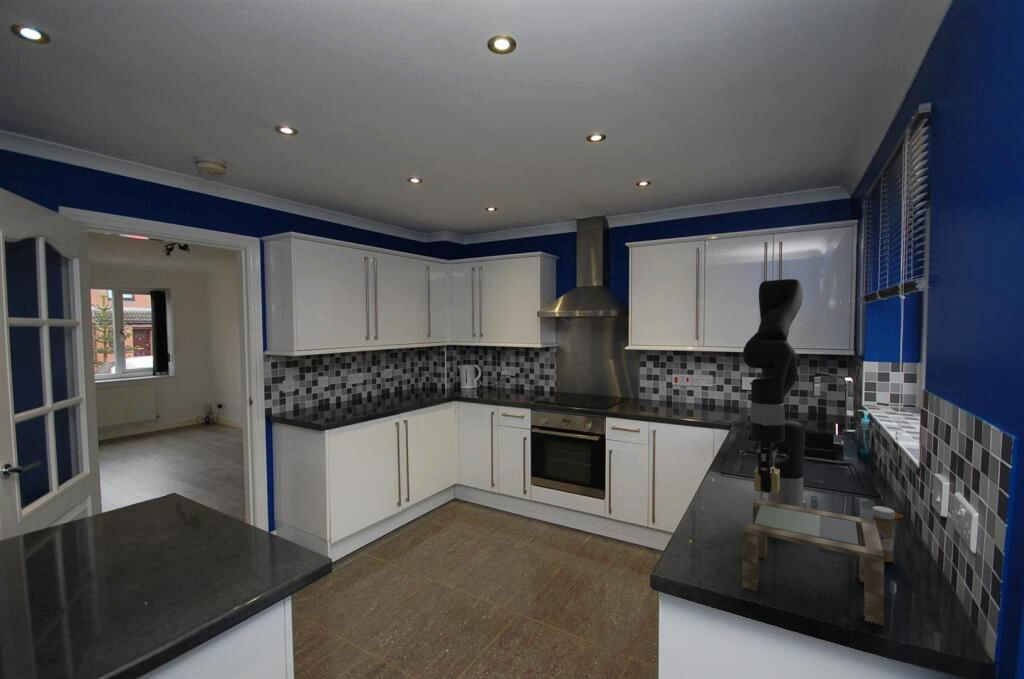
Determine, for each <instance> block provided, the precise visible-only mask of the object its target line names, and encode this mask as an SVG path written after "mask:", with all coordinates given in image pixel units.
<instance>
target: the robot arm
mask: <svg viewBox="0 0 1024 679" xmlns="http://www.w3.org/2000/svg"><path fill="white" fill-rule="evenodd" d="M803 300H804V288H803V285H802V282H801V281H800V280H799V279H795V278H786V279H785V278H784V279H774V280H773V279H772V280H771V279H770V280H764V281H763V280H762V282H761V283H760V284H759V289H758V305H759V317H760V323H759V325H758V328H757V331H756V332H755V333H754V335H752V336H751V337H750V339H748V341H747V342H746V344H745V346H744V348H743V351H742V359H743V362H744V363H745V365H746V366H748V367H749V368H752V369H761V377H758V378H754V379H753V380H751V386H750V387H751V389H750V391H751V395H750V396H751V398H750V400H751V401H750V402H751V404H750V408H749V409H750V412H749V415H750V416H749V419H750V420H749V421H750V422H749V423H750V424H749V425H750V428H749V430H750V432H749V434H750V435H749V437H750V438H751V440H753V441H759V442H760V444H759V445H758V447H756V449H757V454H756V455H757V466H758V474H759V476H761V491H762V492H761V493H763V492H768V493H767V501H769V502H774V503H780V504H786V505H791V506H797V507H803V508H807V502H806V501H805V500H804V466H805V445H806V431H805V427H804V425H803V424H802V423H801V422H798V421H790V420H786V415H785V414H786V412H785V405H784V398H785V397H786V395H788V393H789V392H790V390H791V389H793V386H794V385H795V383H796V381H797V380H798V377H799V376H798V373H799V371H798V369H799V368H798V355H797V352H796V351H795V349H794V347H793V346H792V345H791V343H790V342H789V341H788V336H789V332H790V328H791V325H792V323H793V322H794V320H795V318H796V317H797V315H798V313H799V311H800V309H801V307H802V304H803ZM778 451H779V452H784V453H788V456H787V457H785V458H783V459H778V460H777V454H778ZM763 468H767V469H768V472H767V471H763ZM772 468H775V469H780V490H779V492H778V495H774V494H769V493H770V492H771V476H772Z"/></svg>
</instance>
